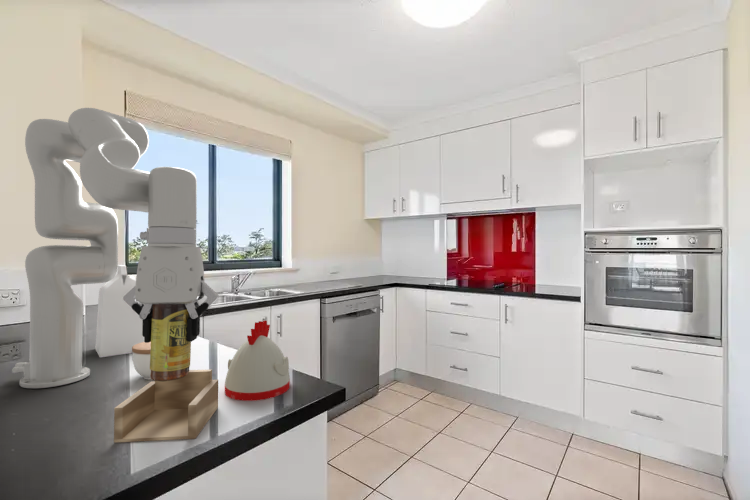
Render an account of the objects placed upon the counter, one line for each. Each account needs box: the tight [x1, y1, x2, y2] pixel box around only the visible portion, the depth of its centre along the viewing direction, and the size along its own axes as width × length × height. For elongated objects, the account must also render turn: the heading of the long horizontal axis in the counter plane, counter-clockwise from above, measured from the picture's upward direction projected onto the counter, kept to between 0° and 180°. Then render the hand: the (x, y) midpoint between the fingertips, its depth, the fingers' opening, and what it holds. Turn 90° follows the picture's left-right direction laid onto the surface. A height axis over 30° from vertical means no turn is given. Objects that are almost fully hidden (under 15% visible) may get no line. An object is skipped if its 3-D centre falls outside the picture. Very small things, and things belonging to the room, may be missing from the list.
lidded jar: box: [132, 342, 153, 381], centre depth 91 cm, size 11×11×9 cm
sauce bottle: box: [150, 304, 192, 382], centre depth 65 cm, size 6×6×20 cm
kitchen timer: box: [224, 320, 291, 402], centre depth 83 cm, size 14×14×15 cm
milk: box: [94, 264, 144, 358], centre depth 114 cm, size 12×12×26 cm
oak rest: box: [113, 369, 219, 444], centre depth 66 cm, size 12×12×8 cm
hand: (171, 339), depth 65 cm, fingers closed on sauce bottle, 6 cm apart
